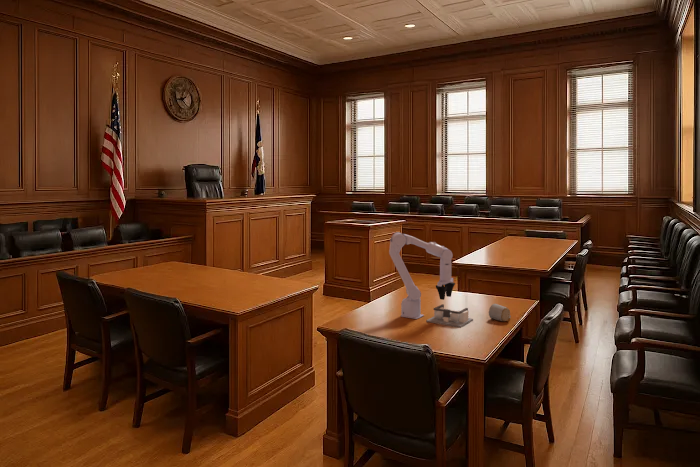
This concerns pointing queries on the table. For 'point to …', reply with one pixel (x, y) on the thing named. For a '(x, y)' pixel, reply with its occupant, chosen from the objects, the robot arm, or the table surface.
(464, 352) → the table surface
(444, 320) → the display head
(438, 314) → the glasses
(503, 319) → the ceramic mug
